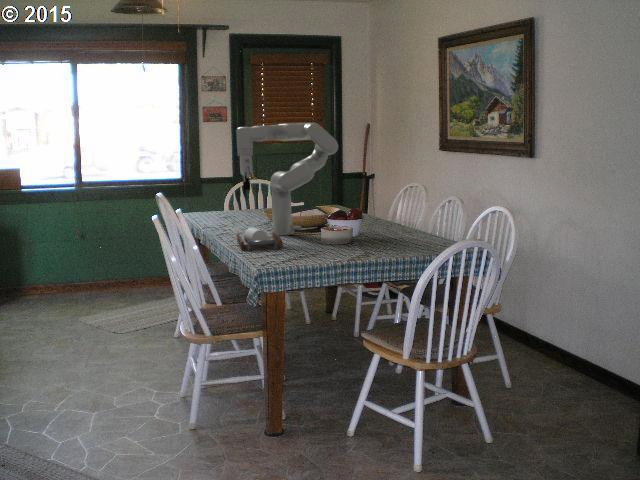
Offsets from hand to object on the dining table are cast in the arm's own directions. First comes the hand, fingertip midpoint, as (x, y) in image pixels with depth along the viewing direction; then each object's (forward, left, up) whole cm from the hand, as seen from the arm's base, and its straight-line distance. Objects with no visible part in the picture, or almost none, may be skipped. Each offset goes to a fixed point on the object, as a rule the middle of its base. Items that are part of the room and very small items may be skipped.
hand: (246, 189), depth 381 cm
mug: (-3, +28, -24) cm, 37 cm away
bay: (-3, +28, -23) cm, 37 cm away
